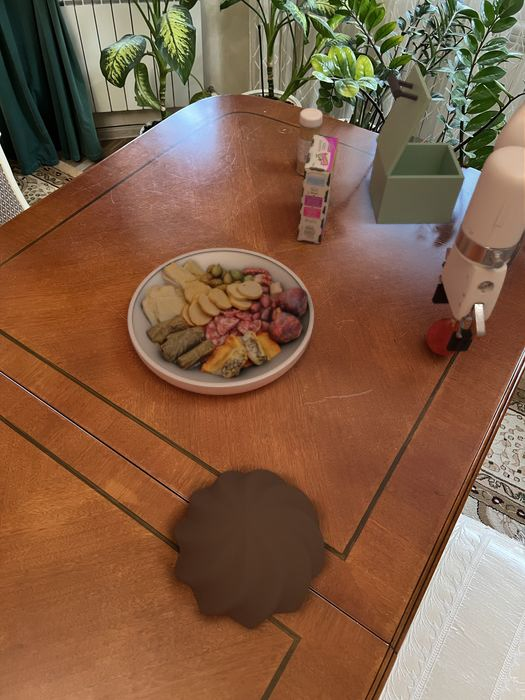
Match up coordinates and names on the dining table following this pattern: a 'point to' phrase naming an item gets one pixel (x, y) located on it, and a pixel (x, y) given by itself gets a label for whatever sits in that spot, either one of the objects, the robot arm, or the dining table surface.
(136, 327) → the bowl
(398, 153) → the lid
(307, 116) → the sprinkles bottle
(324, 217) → the candy bar box
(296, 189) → the dining table surface
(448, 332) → the onion
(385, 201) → the compartment
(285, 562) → the decorative dome
